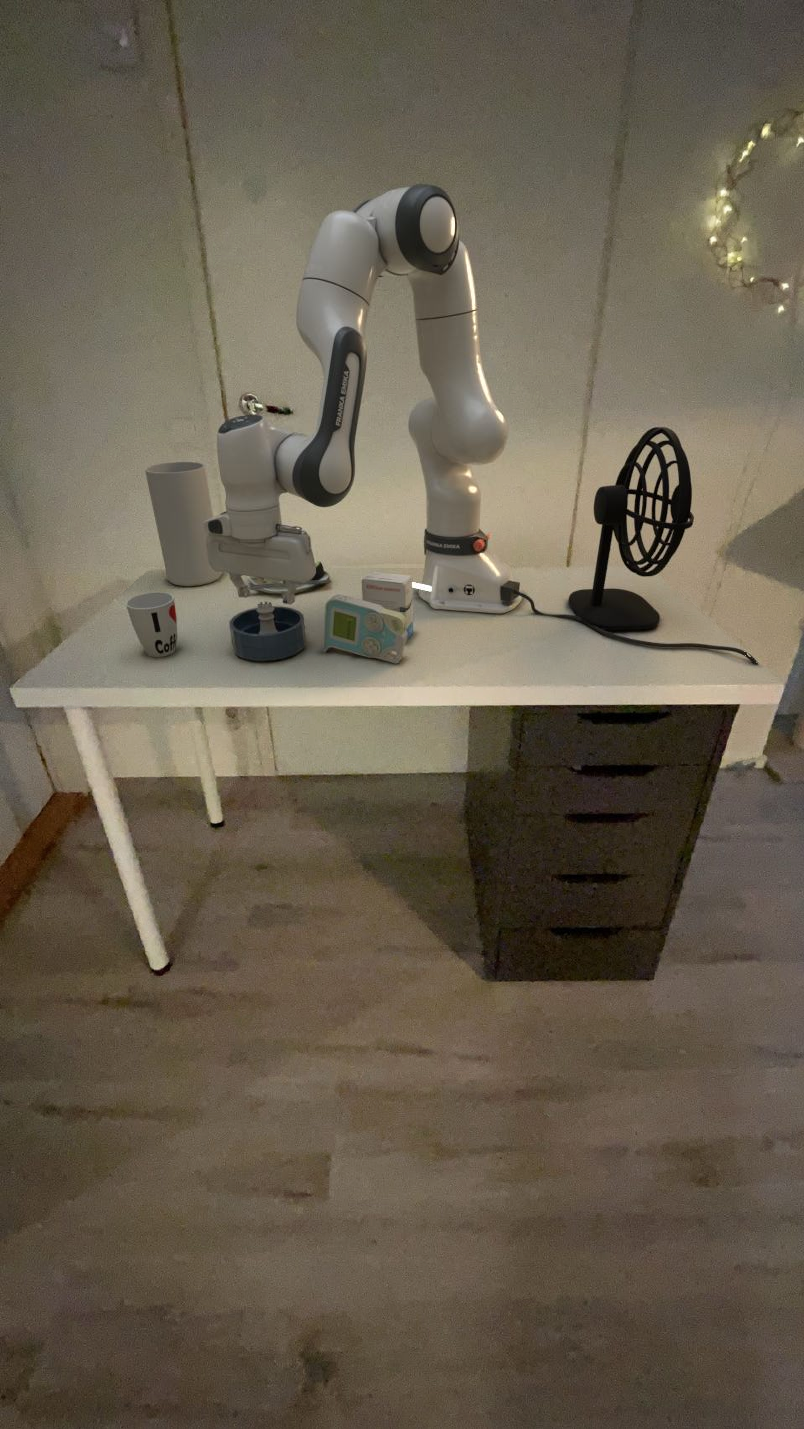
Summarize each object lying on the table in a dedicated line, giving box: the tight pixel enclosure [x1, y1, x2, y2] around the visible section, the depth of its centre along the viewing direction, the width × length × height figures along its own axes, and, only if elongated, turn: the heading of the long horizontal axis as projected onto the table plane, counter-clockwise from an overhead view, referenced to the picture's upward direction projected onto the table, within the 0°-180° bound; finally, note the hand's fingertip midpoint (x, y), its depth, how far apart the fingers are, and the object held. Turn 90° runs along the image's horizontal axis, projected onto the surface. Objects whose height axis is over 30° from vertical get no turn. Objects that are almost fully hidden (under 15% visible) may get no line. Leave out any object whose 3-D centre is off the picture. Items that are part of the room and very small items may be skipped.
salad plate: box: [247, 561, 332, 595], centre depth 149 cm, size 19×18×5 cm
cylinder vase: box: [144, 461, 223, 587], centre depth 148 cm, size 12×12×25 cm
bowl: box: [228, 605, 307, 662], centre depth 120 cm, size 13×13×6 cm
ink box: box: [361, 571, 414, 641], centre depth 123 cm, size 8×5×12 cm, turn 71°
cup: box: [125, 591, 178, 658], centre depth 118 cm, size 8×8×10 cm
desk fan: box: [568, 426, 695, 631], centre depth 124 cm, size 27×18×35 cm, turn 3°
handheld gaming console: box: [322, 594, 408, 664], centre depth 116 cm, size 11×3×15 cm
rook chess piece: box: [256, 601, 278, 634], centre depth 119 cm, size 4×4×8 cm
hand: (266, 599), depth 117 cm, fingers open, 8 cm apart
